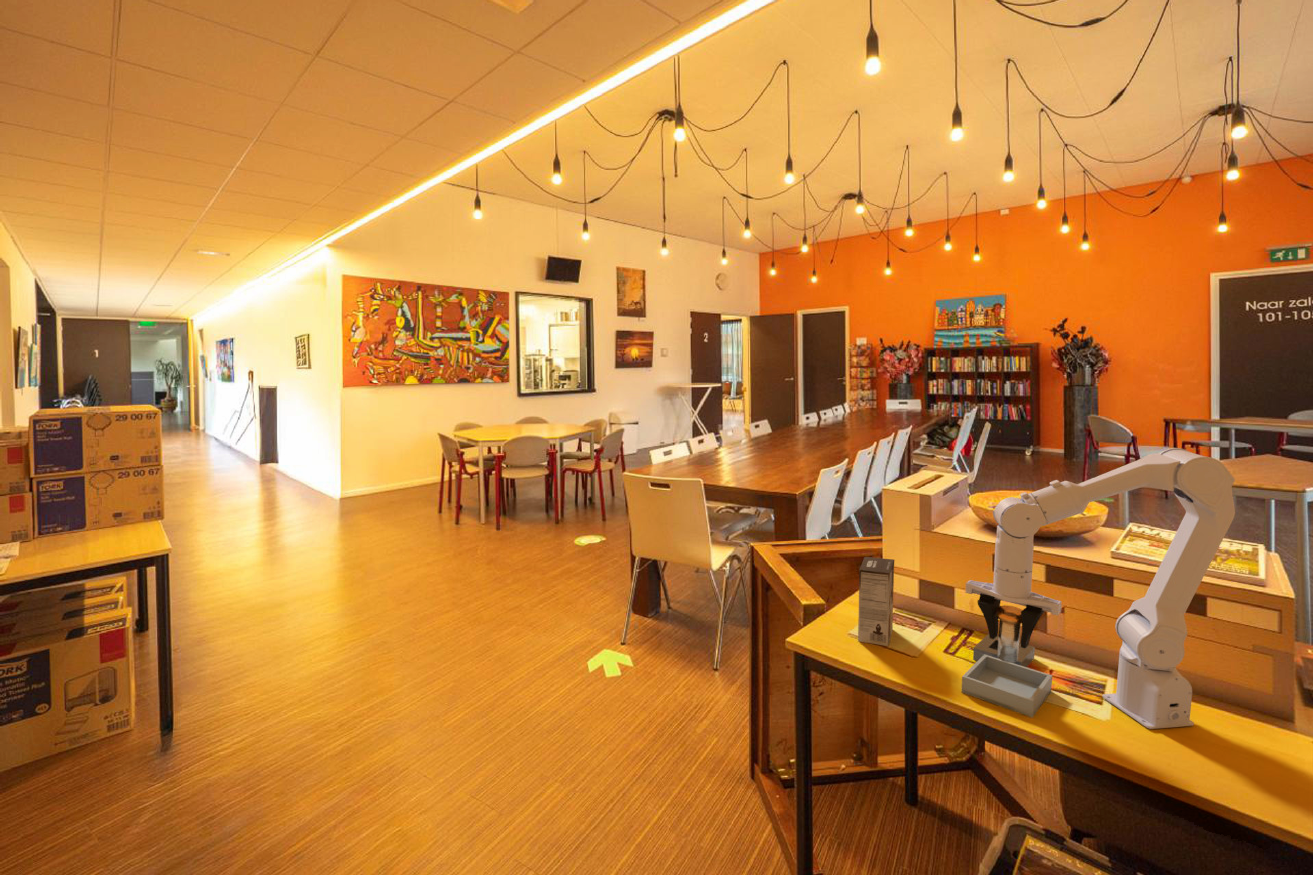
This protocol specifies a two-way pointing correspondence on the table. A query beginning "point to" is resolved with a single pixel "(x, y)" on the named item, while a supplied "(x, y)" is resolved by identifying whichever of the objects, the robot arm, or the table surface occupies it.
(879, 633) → the coffee box
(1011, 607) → the pin
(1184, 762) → the table surface
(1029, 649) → the grey square socket block
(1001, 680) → the tray
